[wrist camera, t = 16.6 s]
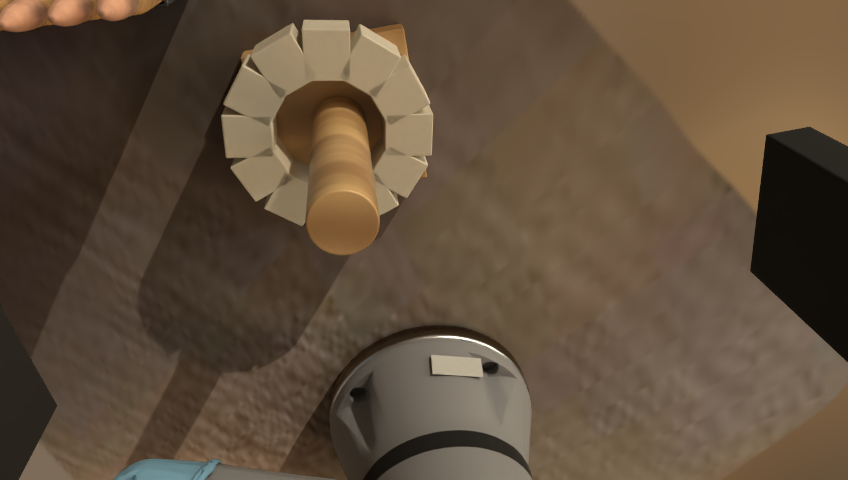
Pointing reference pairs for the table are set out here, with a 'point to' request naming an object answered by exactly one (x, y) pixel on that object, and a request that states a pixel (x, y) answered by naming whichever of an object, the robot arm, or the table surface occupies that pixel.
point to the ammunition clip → (68, 12)
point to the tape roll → (324, 61)
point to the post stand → (337, 155)
